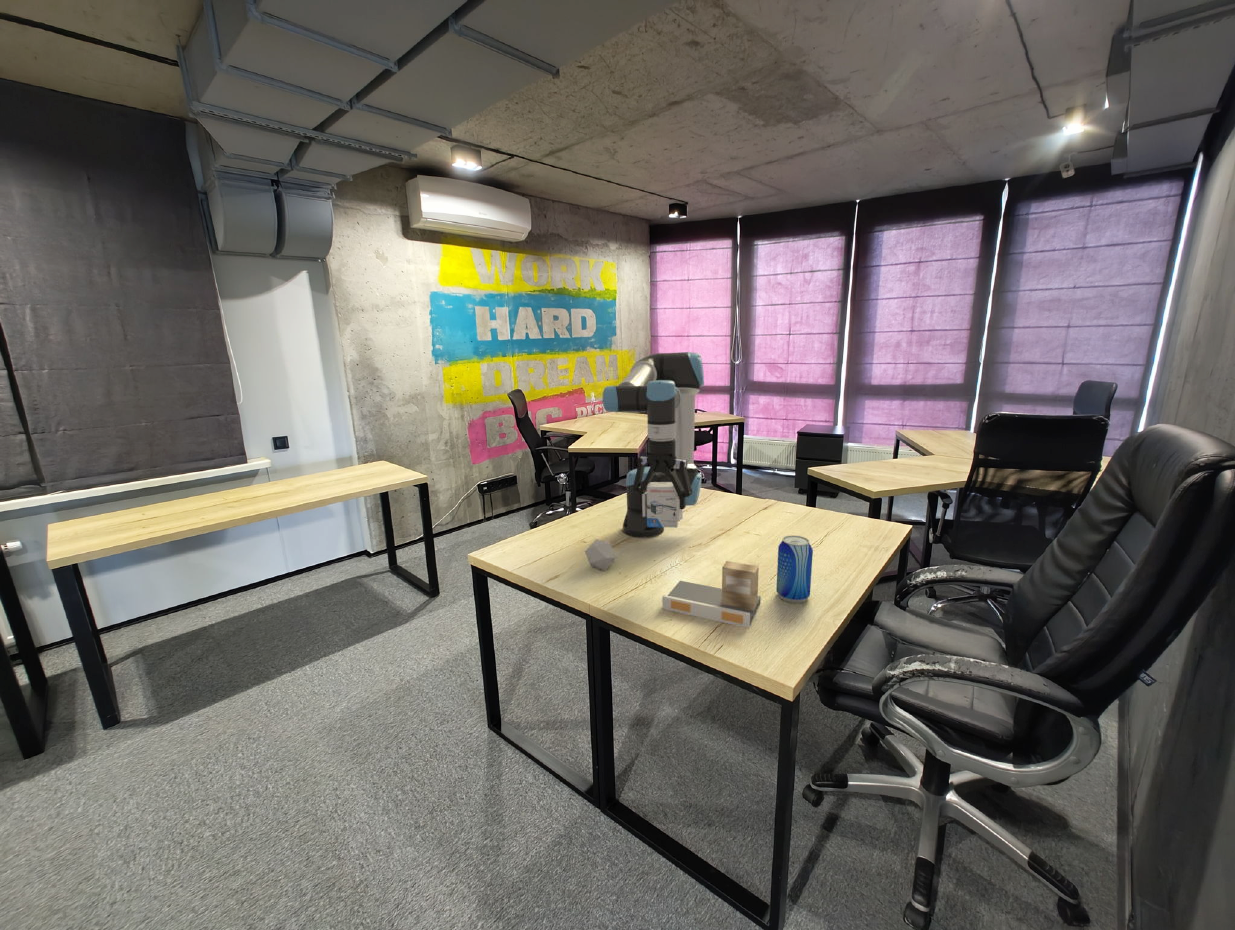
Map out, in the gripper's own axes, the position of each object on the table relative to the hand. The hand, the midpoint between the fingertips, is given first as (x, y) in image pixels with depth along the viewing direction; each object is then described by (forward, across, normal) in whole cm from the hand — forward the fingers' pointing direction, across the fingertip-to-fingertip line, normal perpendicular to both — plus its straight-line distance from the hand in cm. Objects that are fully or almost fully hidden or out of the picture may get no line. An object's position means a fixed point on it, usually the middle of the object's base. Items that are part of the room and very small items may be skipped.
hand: (662, 517), depth 138 cm
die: (+19, -21, +1) cm, 28 cm away
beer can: (+19, +35, +5) cm, 40 cm away
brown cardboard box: (+17, +24, -8) cm, 31 cm away
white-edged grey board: (+19, +17, -8) cm, 27 cm away
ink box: (+2, 0, 0) cm, 2 cm away
